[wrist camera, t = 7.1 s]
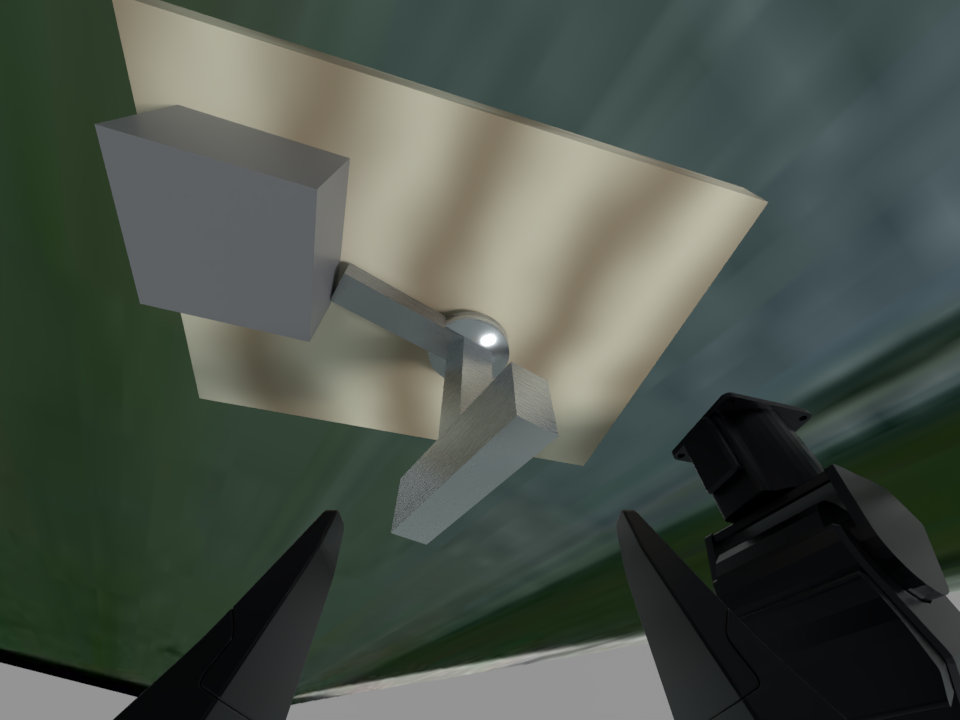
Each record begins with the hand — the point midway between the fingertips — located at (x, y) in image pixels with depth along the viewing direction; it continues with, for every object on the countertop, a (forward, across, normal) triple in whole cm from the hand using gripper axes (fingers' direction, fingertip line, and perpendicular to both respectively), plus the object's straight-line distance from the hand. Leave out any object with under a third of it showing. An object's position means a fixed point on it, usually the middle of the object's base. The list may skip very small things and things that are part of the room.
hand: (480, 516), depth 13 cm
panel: (+12, -2, +1) cm, 12 cm away
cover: (+10, -9, +6) cm, 15 cm away
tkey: (+10, -3, +1) cm, 10 cm away
